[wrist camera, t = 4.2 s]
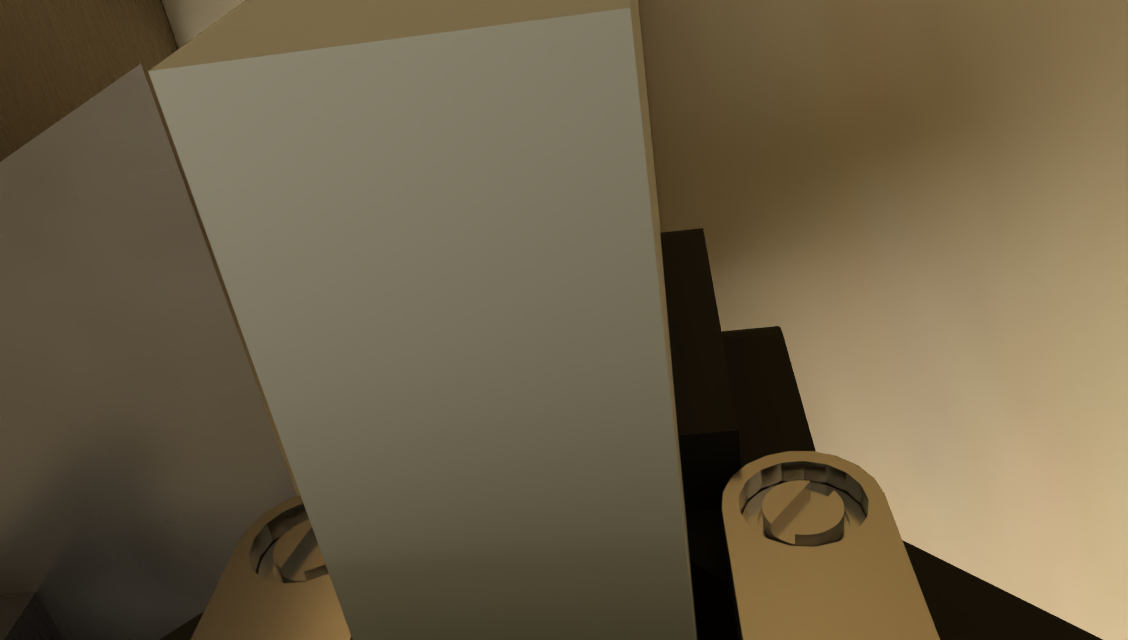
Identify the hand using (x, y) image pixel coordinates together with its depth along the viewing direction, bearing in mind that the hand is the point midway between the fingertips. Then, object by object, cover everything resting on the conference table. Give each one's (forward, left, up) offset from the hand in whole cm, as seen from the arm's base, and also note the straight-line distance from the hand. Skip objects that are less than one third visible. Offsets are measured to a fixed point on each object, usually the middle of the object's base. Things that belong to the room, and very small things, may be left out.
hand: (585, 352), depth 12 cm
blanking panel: (0, 0, -2) cm, 2 cm away
